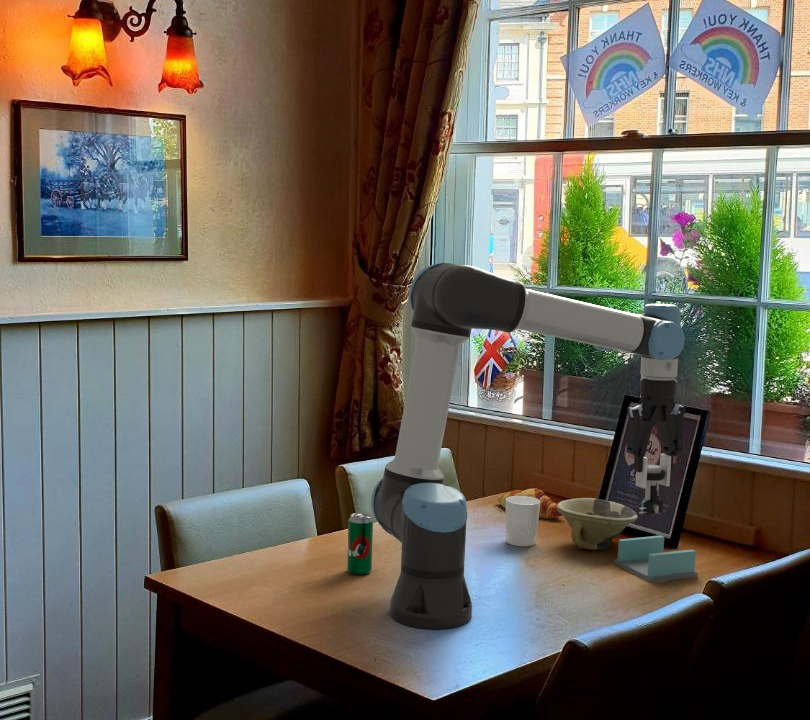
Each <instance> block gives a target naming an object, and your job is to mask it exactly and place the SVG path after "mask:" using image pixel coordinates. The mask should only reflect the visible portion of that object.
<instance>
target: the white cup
mask: <svg viewBox="0 0 810 720" xmlns="http://www.w3.org/2000/svg"><path fill="white" fill-rule="evenodd" d="M539 510H540V500H538V499H536V498H533V497H527V496H511V497H508V498H506V508H505V531H506V532H505V541H506V543H507V544H509V545H512V546H516V547H531V546H535V544H536V541H537V534H538V533H537V532H538V529H539V528H538V525H539V521H540V520H539V519H540V518H539Z"/></svg>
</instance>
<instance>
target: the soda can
mask: <svg viewBox="0 0 810 720" xmlns="http://www.w3.org/2000/svg"><path fill="white" fill-rule="evenodd" d="M349 516H350V517H349V519H348V520H347V521H348V523H347V524H348V525H347V529H348V530H347V559H346V562H347V563H346V565H347V566H346V569H347V571H348V573H349V574H352V575H353V576H354V575H355V576H363V575H364V576H365V575H368V574H370V573H371V571H372V570H373V569H372V566H373V538H374V537H373V533H374V520H373V518H372V515H371V514H370V513H367V512H354V513H352V514H350V515H349Z"/></svg>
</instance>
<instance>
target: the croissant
mask: <svg viewBox="0 0 810 720" xmlns="http://www.w3.org/2000/svg"><path fill="white" fill-rule="evenodd" d="M511 496H527V497H533V498H536V499H538V500H540V510H539V519H553V520H554V519H557V518H559V517H563V515H562V514H561V513H559V512H558V507H557V505H558V503H555V502H553V501H552V498H551V497H550V496H547V495H546V494H545V492H544V491H543V490H541V489H538V488H527V489H525V490H521V489H519V490H518V489H515V490H512V491H510V492H508V491H507V492H503V493H502V494H499V495H498V497H497V502H498V503H499V504H500V505H501V506H502V508H504V509H506V498H508V497H511Z"/></svg>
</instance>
